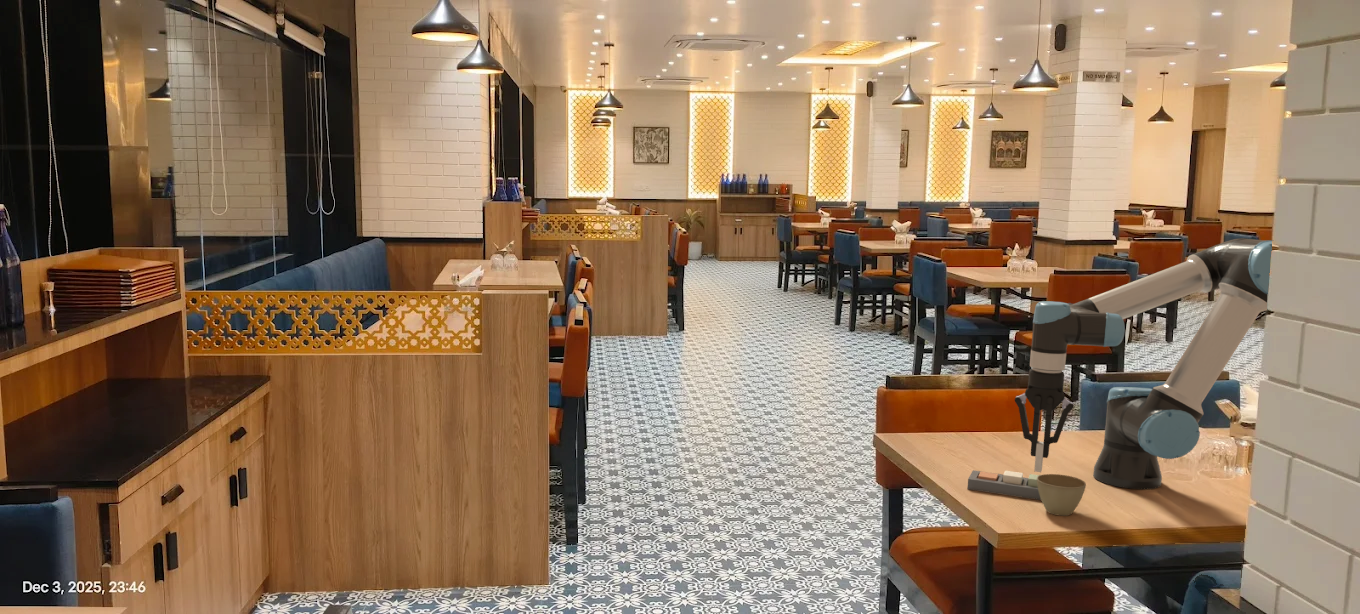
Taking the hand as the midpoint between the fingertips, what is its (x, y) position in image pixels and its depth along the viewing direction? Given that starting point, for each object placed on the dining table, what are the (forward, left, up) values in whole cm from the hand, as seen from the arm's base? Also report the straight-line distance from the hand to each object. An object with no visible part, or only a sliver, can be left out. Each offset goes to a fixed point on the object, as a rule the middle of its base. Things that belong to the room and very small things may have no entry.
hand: (1038, 470), depth 224 cm
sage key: (0, 0, -4) cm, 4 cm away
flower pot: (-5, +11, -6) cm, 13 cm away
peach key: (+11, 0, -5) cm, 12 cm away
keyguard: (+5, 0, -6) cm, 8 cm away
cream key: (+5, 0, -4) cm, 7 cm away
